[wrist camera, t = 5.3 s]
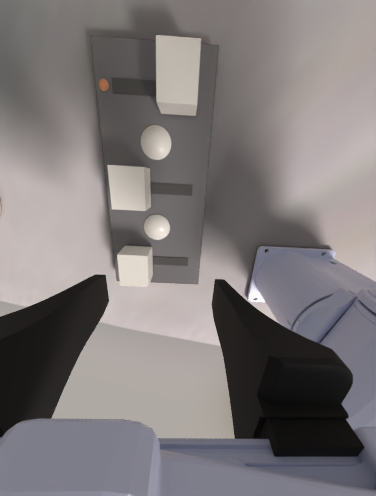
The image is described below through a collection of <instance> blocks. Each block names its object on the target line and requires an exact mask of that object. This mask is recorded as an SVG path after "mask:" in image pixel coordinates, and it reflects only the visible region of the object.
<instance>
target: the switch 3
mask: <svg viewBox="0 0 376 496" xmlns="http://www.w3.org/2000/svg"><path fill="white" fill-rule="evenodd" d="M200 50H201V38H190V37H177V36H163V35H156V102H157V105H158V107H159V110H160V112H161V114H173V115H189V116H196V110H197V101H198V84H199V67H200Z"/></svg>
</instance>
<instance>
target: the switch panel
mask: <svg viewBox="0 0 376 496" xmlns="http://www.w3.org/2000/svg"><path fill="white" fill-rule="evenodd" d="M90 37H91V46H92V56H93V65H94V74H95V83H96V93H97V102H98V111H99V121H100V130H101V139H102V149H103V158H104V167H105V177H106V186H107V195H108V205H109V214H110V223H111V233H112V242H113V251H114V260H115V270H116V279H117V281H120V280H119V270H118V260H117V254H118V253H119V252H120V251H121V250H122V249H123V247H124V246H144V247H152V256H153V276H152V279H151V282H157V283H179V284H198V279H199V268H200V256H201V245H202V233H203V222H204V210H205V199H206V187H207V176H208V164H209V153H210V141H211V130H212V118H213V107H214V95H215V84H216V72H217V61H218V49H219V45H209V44H201V50H200V67H199V84H198V101H197V110H196V116H189V115H173V114H161V112H160V110H159V107H158V105H157V102H156V40H142V39H129V38H116V37H103V36H90ZM107 165H118V166H135V167H146V168H150V189H151V207H150V208H149V209H148V210H146V211H135V210H116V209H112V206H111V197H110V187H109V177H108V167H107Z"/></svg>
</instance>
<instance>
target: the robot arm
mask: <svg viewBox="0 0 376 496" xmlns="http://www.w3.org/2000/svg"><path fill="white" fill-rule="evenodd" d="M266 249H267V251H266V252H264V251H265V250H266ZM323 252H324V253H323ZM322 253H323V254H322ZM335 254H336V252H335V251H334V250H331V249H313V248H293V247H272V246H260V247H259V248H258V249H257V254H256V259H255V263H254V268H253V273H252V277H251V282H250V287H249V292H248V296H247V299H248V300H249V301H250V302H266V303H267V305H268V307H269V308H270V310H271V311H272V313H273V315H274V316H275V318H276V319H277V321H278V322H279V323H277V322H275V321H274V320H272V319H271V318H269V317H267V316H266V315H265V314H263V313H262V312H260V311H259V310H258V309H256V308H255V307H254V306H252V305H251V304H250V303H249V302H248V301H246V300H245V299H244V298H243V297H242V296H241V295H240V294H239V293H237V292H236V291H235V290H234V289H233V288H232V287H231V286H230V285H229V284H228V283H227V282H226V281H225V280H221V279H215V284H214V292H213V300H212V309H213V317H214V322H215V325H216V329H217V333H218V337H219V341H220V344H221V348H222V352H223V357H224V363H225V368H226V375H227V382H228V389H229V396H230V403H231V410H232V418H233V426H234V435H235V439H185V438H184V439H183V438H182V439H180V438H179V439H177V438H157V437H156V434H155V433H154V431H153V429H152V428H150V427H148V426H146V425H144V424H142V423H140V422H136V421H130V420H124V419H51V418H52V415H53V413H54V410H55V408H56V406H57V403H58V401H59V399H60V396H61V394H62V391H63V389H64V386H65V385H66V383H67V380H68V378H69V376H70V374H71V371H72V369H73V367H74V365H75V363H76V361H77V359H78V357H79V355H80V353H81V351H82V349H83V347H84V346H85V344H86V342H87V340H88V339H89V337H90V335H91V334H92V332H93V331H94V329H95V327H96V325H97V324H98V322H99V321H100V319H101V317H102V316H103V314H104V311H105V309H106V307H107V304H108V302H109V298H108V290H107V282H106V275H94V276H92V277H90V278H88V279H86V280H84V281H82V282H80V283H78V284H76V285H74V286H72V287H70V288H68V289H66V290H64V291H62V292H60V293H58V294H56V295H54V296H52V297H50V298H48V299H46V300H44V301H41V302H39V303H37V304H34V305H32V306H29V307H27V308H24V309H21V310H19V311H16V312H13V313H10V314H7V315H4V316H2V317H0V496H376V282H375V281H373V280H371V279H370V278H368V277H366V276H364V275H362V274H361V273H359V272H357V271H355V270H353V269H351V268H350V267H348V266H346V265H344V264H342V263H340V262H339V261H337V260H335V259H334V257H335ZM255 297H256V298H255ZM254 298H255V299H254Z"/></svg>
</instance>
